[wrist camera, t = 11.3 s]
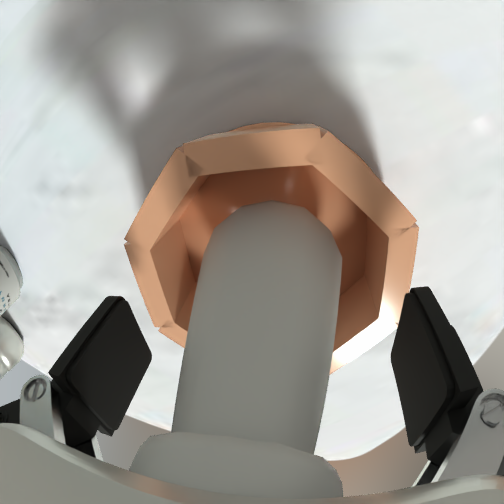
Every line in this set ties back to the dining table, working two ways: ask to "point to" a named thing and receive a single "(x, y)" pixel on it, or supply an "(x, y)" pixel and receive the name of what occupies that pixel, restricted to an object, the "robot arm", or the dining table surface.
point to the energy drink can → (8, 280)
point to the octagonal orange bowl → (283, 190)
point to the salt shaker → (256, 361)
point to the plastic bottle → (9, 347)
